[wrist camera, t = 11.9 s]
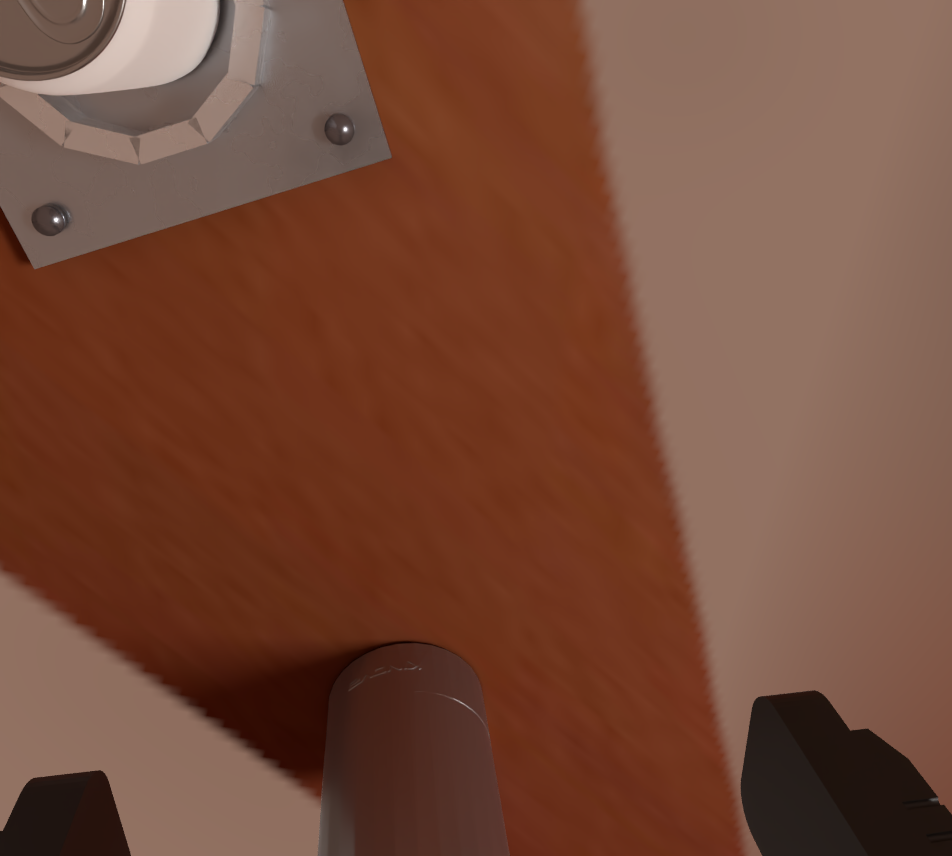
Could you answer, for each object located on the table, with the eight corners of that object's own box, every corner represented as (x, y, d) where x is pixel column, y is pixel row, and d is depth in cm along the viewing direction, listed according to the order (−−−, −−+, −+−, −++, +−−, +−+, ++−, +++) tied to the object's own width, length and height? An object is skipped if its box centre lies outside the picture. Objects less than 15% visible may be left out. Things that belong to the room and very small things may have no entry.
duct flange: (391, 154, 35) (392, 163, 32) (43, 263, 35) (15, 281, 33) (246, -308, 28) (232, -346, 25) (-189, -169, 28) (-247, -191, 26)
